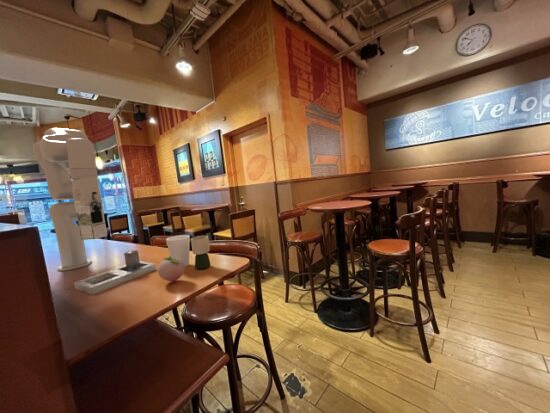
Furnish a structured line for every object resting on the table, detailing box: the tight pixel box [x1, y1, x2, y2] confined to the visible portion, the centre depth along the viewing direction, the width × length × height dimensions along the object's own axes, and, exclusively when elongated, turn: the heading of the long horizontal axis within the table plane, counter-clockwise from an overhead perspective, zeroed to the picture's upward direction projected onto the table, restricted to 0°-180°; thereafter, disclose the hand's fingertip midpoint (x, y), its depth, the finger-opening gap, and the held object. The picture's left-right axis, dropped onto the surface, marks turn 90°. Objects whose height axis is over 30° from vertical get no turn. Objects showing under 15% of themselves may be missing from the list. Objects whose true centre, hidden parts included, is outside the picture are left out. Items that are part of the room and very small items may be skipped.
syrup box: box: [73, 200, 108, 241], centre depth 84 cm, size 6×6×14 cm
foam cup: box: [165, 234, 191, 268], centre depth 99 cm, size 10×9×13 cm
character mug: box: [190, 235, 211, 270], centre depth 96 cm, size 11×7×13 cm, turn 55°
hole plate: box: [73, 249, 157, 295], centre depth 91 cm, size 13×24×9 cm, turn 152°
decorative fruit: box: [157, 255, 185, 283], centre depth 83 cm, size 9×8×10 cm
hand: (92, 222), depth 84 cm, fingers closed on syrup box, 7 cm apart
